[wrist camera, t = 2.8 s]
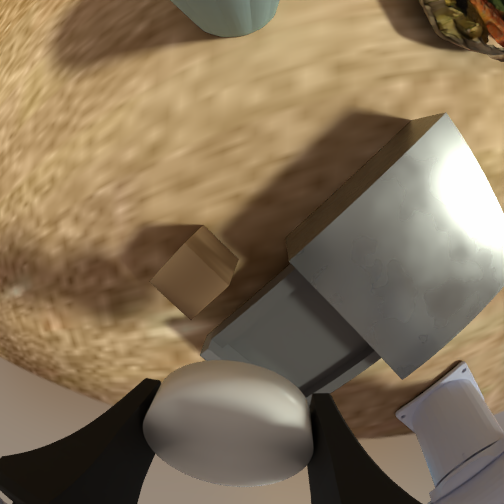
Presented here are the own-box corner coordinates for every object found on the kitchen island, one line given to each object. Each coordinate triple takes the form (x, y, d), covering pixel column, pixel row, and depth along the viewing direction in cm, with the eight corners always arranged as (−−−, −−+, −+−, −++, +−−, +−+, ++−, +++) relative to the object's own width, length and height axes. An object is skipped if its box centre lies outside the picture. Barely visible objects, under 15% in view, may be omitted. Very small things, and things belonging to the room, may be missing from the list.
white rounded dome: (300, 459, 10) (301, 488, 8) (171, 447, 10) (161, 474, 9) (321, 363, 8) (327, 400, 7) (143, 350, 9) (123, 381, 7)
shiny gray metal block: (487, 245, 16) (521, 264, 13) (384, 343, 19) (402, 379, 15) (411, 120, 15) (446, 112, 11) (285, 237, 18) (288, 261, 14)
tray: (402, 326, 18) (414, 344, 16) (294, 402, 20) (295, 424, 18) (323, 233, 16) (331, 245, 14) (207, 334, 19) (199, 355, 17)
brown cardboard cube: (238, 259, 18) (229, 285, 14) (206, 289, 19) (190, 320, 15) (203, 224, 18) (184, 243, 14) (173, 257, 18) (149, 281, 15)
